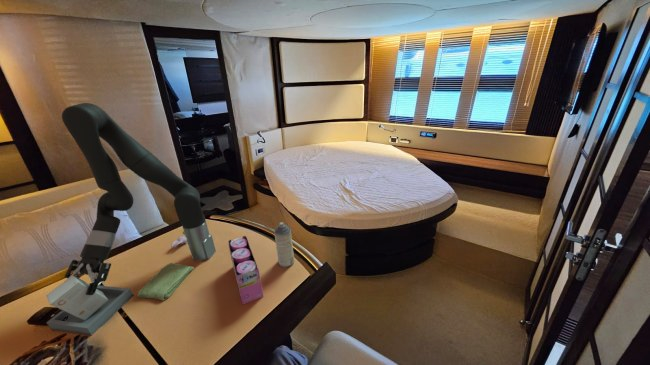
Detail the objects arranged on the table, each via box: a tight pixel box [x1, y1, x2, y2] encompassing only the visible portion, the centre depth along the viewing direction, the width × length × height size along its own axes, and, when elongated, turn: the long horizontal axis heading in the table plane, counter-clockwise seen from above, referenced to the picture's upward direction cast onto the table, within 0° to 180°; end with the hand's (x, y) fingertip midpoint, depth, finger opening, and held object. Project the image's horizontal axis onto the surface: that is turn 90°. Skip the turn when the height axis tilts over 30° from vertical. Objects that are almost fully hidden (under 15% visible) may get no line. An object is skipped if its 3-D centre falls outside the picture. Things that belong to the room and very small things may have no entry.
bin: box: [46, 284, 134, 336], centre depth 88 cm, size 16×16×4 cm
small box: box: [45, 275, 108, 320], centre depth 84 cm, size 8×6×13 cm
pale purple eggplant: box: [170, 230, 188, 248], centre depth 124 cm, size 6×6×15 cm
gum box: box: [227, 235, 264, 305], centre depth 97 cm, size 24×8×14 cm, turn 27°
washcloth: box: [136, 262, 195, 301], centre depth 100 cm, size 13×18×3 cm
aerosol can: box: [273, 221, 295, 268], centre depth 104 cm, size 7×7×20 cm
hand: (78, 293), depth 83 cm, fingers closed on small box, 8 cm apart
